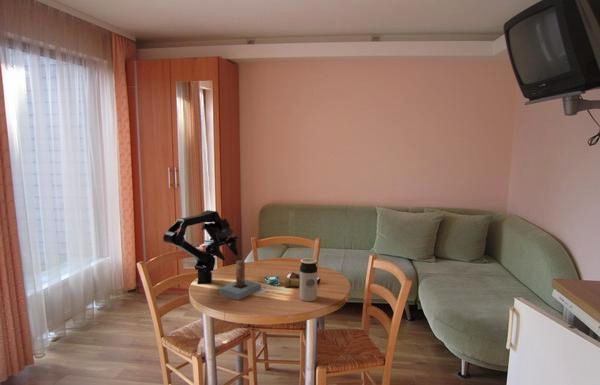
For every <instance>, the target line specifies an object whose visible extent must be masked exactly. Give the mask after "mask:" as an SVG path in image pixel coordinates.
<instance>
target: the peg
mask: <svg viewBox="0 0 600 385" xmlns="http://www.w3.org/2000/svg"><path fill="white" fill-rule="evenodd" d="M245 267H246V264H245V260H236V261H235V271H236V272H235V282H236V288H240V289H242V288H244V287H245V280H246V279H245V278H246V276H245V274H246V273H245V270H246V268H245Z"/></svg>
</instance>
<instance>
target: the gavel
mask: <svg viewBox="0 0 600 385" xmlns="http://www.w3.org/2000/svg"><path fill="white" fill-rule="evenodd" d="M290 277H291V278H289V277H285V278H284V288H290V287H291V288H294V287H295V288H296V287H299V288H300V278H297V274H296V273H295V272H293V271H292V272H291V274H290Z"/></svg>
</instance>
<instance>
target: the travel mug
mask: <svg viewBox="0 0 600 385" xmlns="http://www.w3.org/2000/svg"><path fill="white" fill-rule="evenodd" d="M317 262H318V260H317V259H316V258H311V257H310V258H309V257H307V258H305V257H304V258H302V259H300V263H301V264H300V266H299V279H300V286H299V299H300V300H301V301H304V302H313V301H316V300H317V298H318V266H317Z"/></svg>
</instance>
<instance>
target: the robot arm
mask: <svg viewBox="0 0 600 385" xmlns="http://www.w3.org/2000/svg"><path fill="white" fill-rule="evenodd" d="M198 224H202V227H201V230H202V231H204V230H205V231H206V232H207V234H208V236H209V237H210V238H209V240H210V243H208V244H207V246H206V247H205V250H200V249H198V248H197V247H196V246H194V245H192V244H191V243H189V242H188V241H186V239H185V235H186V232H187V228H188V227H191V226H195V225H198ZM178 230H179V231H178ZM233 233H234V230H233V229H232V228H231V227H230V223H229V221H228V220H227V218H226V217H225V218H224V217H223V218H221V216H220V214H219V212H218V211H215V210H204V211H202V212H201V213H199V214H196V215H192V216H187V217H180V218H177V219H176V221H175V222H174V223H173V224H172V225H170V227H168V229H167V230H166V232H165V233H164V234H163V242H164V243H166V244H169V245H171V246H174V247H177V248H178V249H180V250H182V251H184V252H185V253H187V254H188V255H189V256H191V257H193V258H194V259H195V260H196V263H195V265H194V266H193V267H194V270H197V284H199V285H200V284H203V285H204V284H211V282H212V281H213V272H212V271H214V269H215V266H216V265H215V264H216V258H215V257H217V258H218V259H219V260H222V261H225V260H226V258H225V256H224V254H223V252H222V251H221V247H223V246H227V247H228V249H229V250H230V252H231V253H233V255H235V256H236V257H237V256H238V255H239V252H238V248H237V242H238V241H239V238H238V236H237V235H233Z"/></svg>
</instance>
